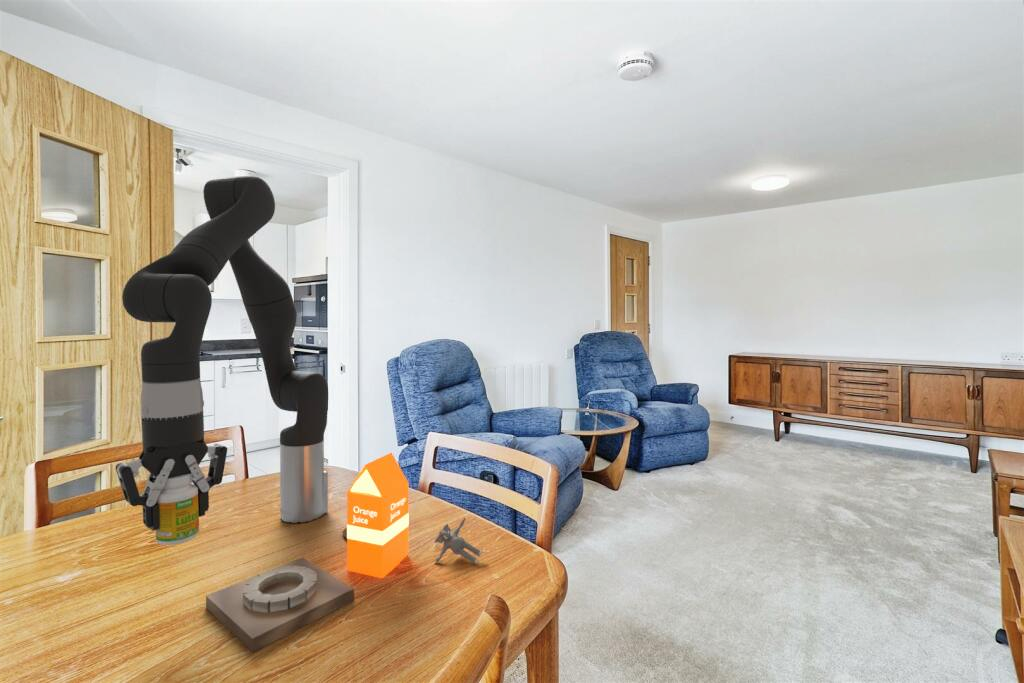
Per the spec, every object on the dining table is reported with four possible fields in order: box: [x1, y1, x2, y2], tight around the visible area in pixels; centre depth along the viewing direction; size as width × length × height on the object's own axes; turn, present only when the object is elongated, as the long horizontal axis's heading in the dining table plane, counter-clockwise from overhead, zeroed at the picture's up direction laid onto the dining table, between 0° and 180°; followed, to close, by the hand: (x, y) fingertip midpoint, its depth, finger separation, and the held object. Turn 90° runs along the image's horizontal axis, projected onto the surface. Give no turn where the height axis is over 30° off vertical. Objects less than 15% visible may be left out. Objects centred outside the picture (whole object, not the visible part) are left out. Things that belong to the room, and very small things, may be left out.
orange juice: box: [346, 452, 410, 579], centre depth 91 cm, size 8×9×20 cm
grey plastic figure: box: [434, 517, 483, 565], centre depth 94 cm, size 10×6×9 cm
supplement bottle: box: [155, 473, 200, 546], centre depth 73 cm, size 5×5×10 cm
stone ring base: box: [205, 557, 355, 653], centre depth 78 cm, size 16×16×4 cm
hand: (177, 521), depth 73 cm, fingers closed on supplement bottle, 5 cm apart
